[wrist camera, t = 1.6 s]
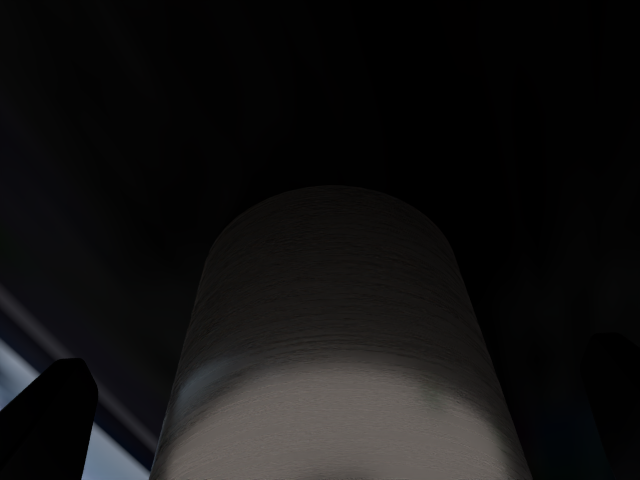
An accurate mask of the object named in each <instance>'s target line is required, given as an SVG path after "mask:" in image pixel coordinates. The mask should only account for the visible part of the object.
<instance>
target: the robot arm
mask: <svg viewBox="0 0 640 480" xmlns="http://www.w3.org/2000/svg"><path fill="white" fill-rule="evenodd" d="M580 373H581V378H582V381H583V384H584V387H585V390H586V394H587V397H588V400H589V403H590V406H591V410H592V413H593V416H594V419H595V422H596V426H597V429H598V432H599V435H600V438H601V442H602V445H603V448H604V451H605V454H606V457H607V459H608V462H609V464H610V467H611V469H612V472H613V474H614V476H615V479H616V480H640V348H639V347H638V346H637V345H635V344H634V343H632V342H631V341H630V340H628V339H627V338H626V337H624V336H623V335H621V334H619V333H597V334H594V335H593V336H592V337H591V338H590V340H589V343H588V346H587V348H586V351H585V353H584V356H583V359H582V361H581V365H580ZM97 401H98V388H97V385H96V383H95V381H94V379H93V377H92V375H91V373H90V371H89V369H88V367H87V365H86V363H85V361H84V360H82V359H81V358H68V359H59V360H57V361H55V362H54V363H53V364H52V365H51V366H49V367H48V368H47V369H46V370H45V371H44V372H43V373H42V374H41V375H39V376H38V377H37V378H36V379H35V380H34V381H33V382H32V383H31V384H29V385H28V386H27V387H26V388H25V389H24V390H23V391H22V392H21V393H19V394H18V395H17V396H16V397H15V398H14V399H13V400H12V401H11V402H10V403H8V404H7V405H6V406H5V407H4V408H3V409H2V410H1V411H0V480H81V478H82V474H83V470H84V465H85V460H86V455H87V450H88V446H89V441H90V436H91V431H92V426H93V421H94V416H95V411H96V406H97Z"/></svg>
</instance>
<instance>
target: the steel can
mask: <svg viewBox="0 0 640 480" xmlns="http://www.w3.org/2000/svg"><path fill="white" fill-rule="evenodd" d="M149 480H533V479H532V476H531V473H530V470H529V467H528V464H527V461H526V459H525V456H524V453H523V450H522V447H521V444H520V441H519V439H518V436H517V433H516V430H515V427H514V424H513V421H512V419H511V416H510V413H509V410H508V407H507V404H506V401H505V398H504V396H503V393H502V390H501V387H500V384H499V381H498V378H497V376H496V373H495V370H494V367H493V364H492V361H491V358H490V356H489V353H488V350H487V347H486V344H485V341H484V338H483V336H482V333H481V330H480V327H479V324H478V321H477V318H476V316H475V313H474V310H473V307H472V304H471V301H470V298H469V295H468V293H467V290H466V287H465V284H464V281H463V278H462V275H461V273H460V270H459V267H458V264H457V261H456V258H455V255H454V253H453V250H452V248H451V246H450V244H449V242H448V240H447V238H446V237H445V236H444V234H443V233H442V232H441V230H440V229H439V228H438V226H437V225H436V224H435V223H433V222H432V221H431V220H430V219H429V218H428V217H427V216H426V215H425V214H423V213H422V212H420V211H419V210H418V209H416V208H415V207H413V206H412V205H410V204H408V203H406V202H404V201H402V200H400V199H398V198H396V197H393V196H390V195H388V194H385V193H382V192H379V191H375V190H370V189H366V188H361V187H353V186H344V185H323V186H314V187H305V188H300V189H296V190H291V191H287V192H284V193H281V194H278V195H275V196H273V197H270V198H267V199H265V200H263V201H261V202H259V203H257V204H255V205H253V206H252V207H250V208H249V209H247V210H246V211H244V212H243V213H241V214H240V215H238V216H237V217H236V218H235V219H234V220H233V221H232V222H231V223H229V224H228V225H227V226H226V227H225V229H224V230H223V231H222V232H221V233H220V235H219V236H218V237H217V238H216V240H215V242H214V244H213V245H212V247H211V249H210V251H209V253H208V256H207V259H206V261H205V264H204V268H203V272H202V276H201V280H200V284H199V288H198V291H197V295H196V299H195V303H194V307H193V311H192V315H191V318H190V322H189V326H188V330H187V334H186V338H185V342H184V346H183V349H182V353H181V357H180V361H179V365H178V369H177V373H176V377H175V380H174V384H173V388H172V392H171V396H170V400H169V404H168V408H167V411H166V415H165V419H164V423H163V427H162V431H161V435H160V438H159V442H158V446H157V450H156V454H155V458H154V462H153V466H152V469H151V473H150V477H149Z"/></svg>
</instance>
